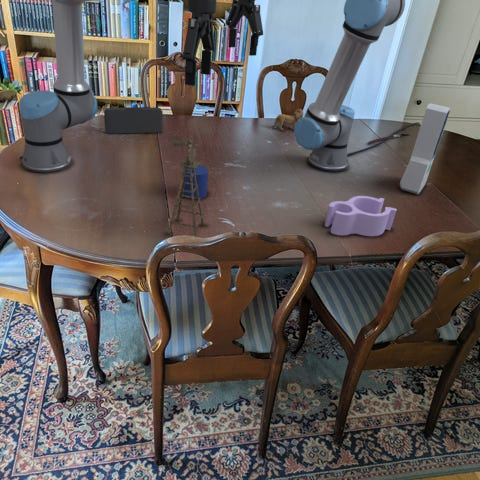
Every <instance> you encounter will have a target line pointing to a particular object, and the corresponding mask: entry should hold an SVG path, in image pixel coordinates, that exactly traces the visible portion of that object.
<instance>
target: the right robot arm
mask: <svg viewBox="0 0 480 480" xmlns="http://www.w3.org/2000/svg"><path fill="white" fill-rule="evenodd" d="M255 3H256V0H232V3H231V7H230V10H229V14H228V16H227V18H226V22H225V25H226V26H227V27H228V46H227V47H228V48H236V44H237V43H236V42H237V31H238V29H237V26H238V24H239V23H240V21H241V20H242V17H245V18H246V19H247V22H248V25H249V28H250V31H251V35H250V38H249V39H250V41H249V50H248V56H249V57H251V56H252V57H253V56H257V50H258V45H259V37H261V36H263V35H264V29H263V24H262V23H263V21H262V15H261V5H260V4H255ZM405 7H406V0H345V2H344V6H343V14H344V21H343V22H342V30H343V32H344V34H343V36H342V38H341V41H340V43H339V45H338V47H337V51H336V52H335V55H334V57H333V60H332V62H331V64H330V67H329V69H328V71H327V74H326V76H325V78H324V80H323V83H322V85H321V88H320V90H319V92H318V94H317V96H316V98H315V101H314V102H312V103H311V102H310V104H309V105H308V107H307V109H306V112H305V114H304V115H303V117H302V118H300V119H299V120H298V121H297V122H296V124H295V127H294V130H293V134H294V137H295V140H296V142H297V144H298V145H299V146H300V147H301V148H303V149H305V150H308V151H311V152H310V154H309V156H308V160H307V162H308V164H309V166H311V167H312V168H314V169H317V170H320V171H322V172H328V173H340V172H344V171H346V170H347V169H348V165H349V159H348V156H352V155H356V154H359V153H361V152H364V151H367V150H370V149H373V148H375V147H377V146H380V145H381V144H383V143H385V142H386V141H388V140H389V139H390V138H389V137H391V136H393V135H396V134H398V133H399V132H401V131H403V130H405V129H406V128H408V127H412V126H414V125H413V124H415V125H418V126H421V124H420V122H413V123H411V124H407V125H405V126H403V127H401V128H400V129H397V130H396V131H395V132H393V133H392V134H390V135H389V137H388V136H387V137H388V138H386V139H384V140H380V141H378V142H376V143H375V144H374V145H373V144H372V145H371V146H368V147H365V148H363V149H359V150H357V151H353V152H349V153H348V144H349V141H350V135H351V132H352V127H353V123H354V120H355V110H354V109H353V108H352V107H349V106H347V105H344V104H343V103H344V101H345V99H346V97H347V95H348V92H349V91H350V89H351V86H352V84H353V82H354V80H355V78H356V76H357V75H358V72H359V69H360V67H361V65H362V63H363V61H364V58H365V57H366V55H367V52H368V50H369V48H370V46H371V45H372V44H374V43H376V42H378V41H379V39H380V37H381V34H382V32H383V30H384V28H385V27H389V26H392V25H394V24H395V23H396V22H398V20H400V19H401V17H402V15H403V13H404V12H405Z"/></svg>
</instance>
